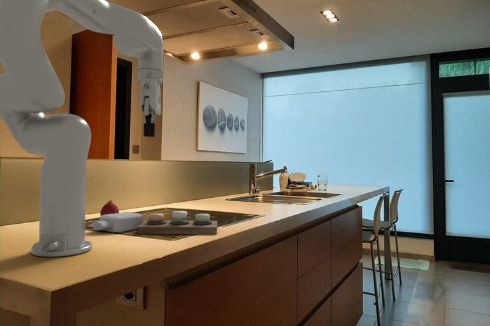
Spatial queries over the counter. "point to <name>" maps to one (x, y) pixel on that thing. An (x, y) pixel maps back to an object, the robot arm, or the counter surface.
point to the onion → (109, 208)
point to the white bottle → (118, 222)
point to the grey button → (179, 214)
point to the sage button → (202, 217)
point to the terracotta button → (156, 217)
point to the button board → (177, 227)
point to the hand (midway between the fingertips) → (149, 136)
